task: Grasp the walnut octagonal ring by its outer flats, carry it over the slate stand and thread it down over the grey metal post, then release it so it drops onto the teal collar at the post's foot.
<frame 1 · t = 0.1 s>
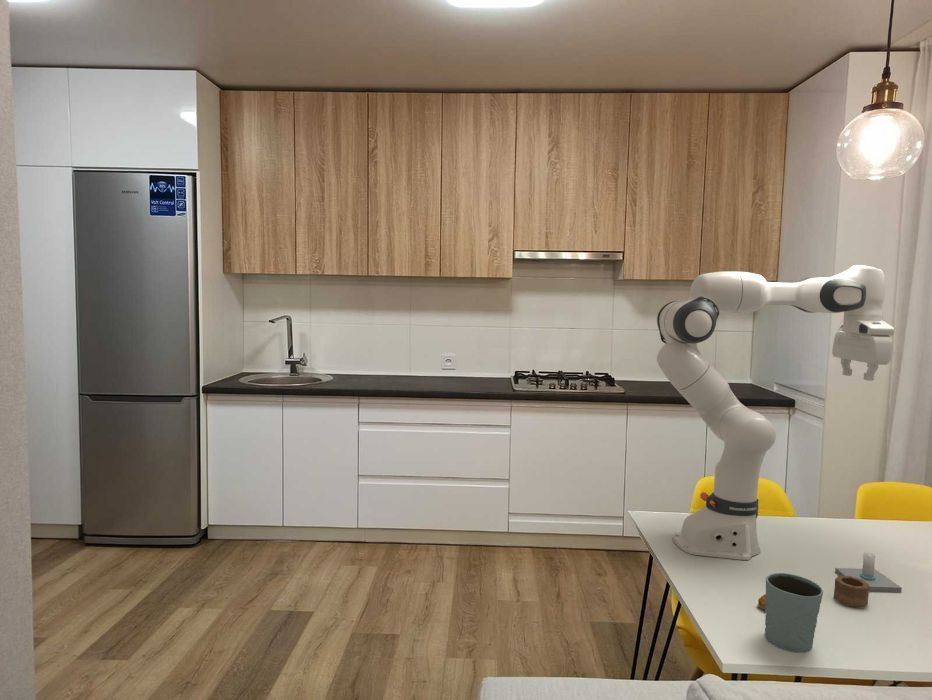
hand: (857, 377, 171), 48 cm above the table, fingers open, 8 cm apart
pastry: (780, 609, 141), on the table
shaft stand: (867, 582, 155), on the table
grey blue cup: (789, 642, 128), on the table
ring: (850, 600, 145), on the table
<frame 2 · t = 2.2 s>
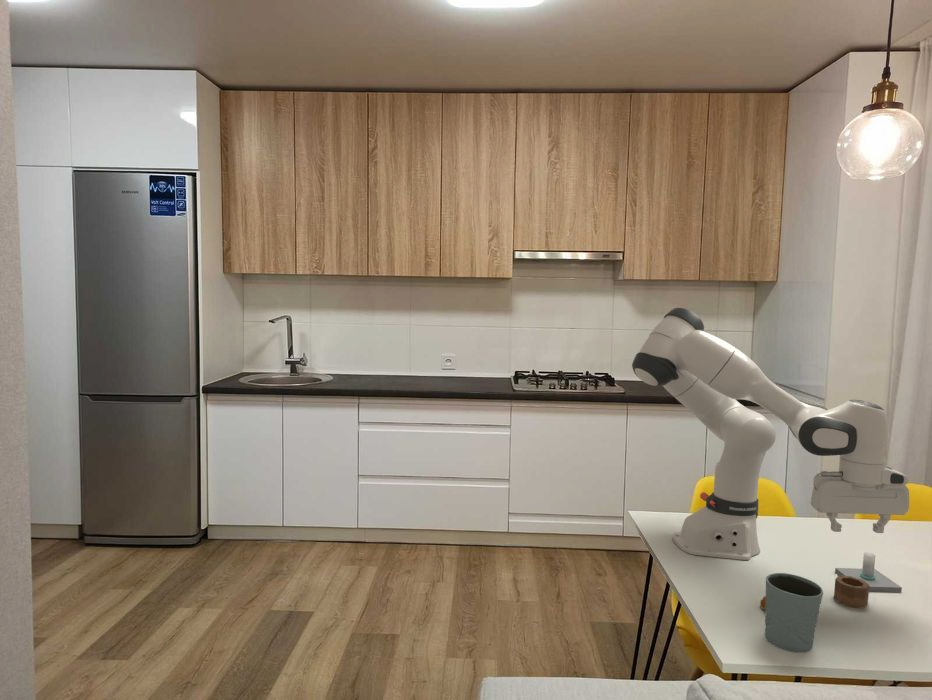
hand: (856, 531, 144), 16 cm above the table, fingers open, 8 cm apart
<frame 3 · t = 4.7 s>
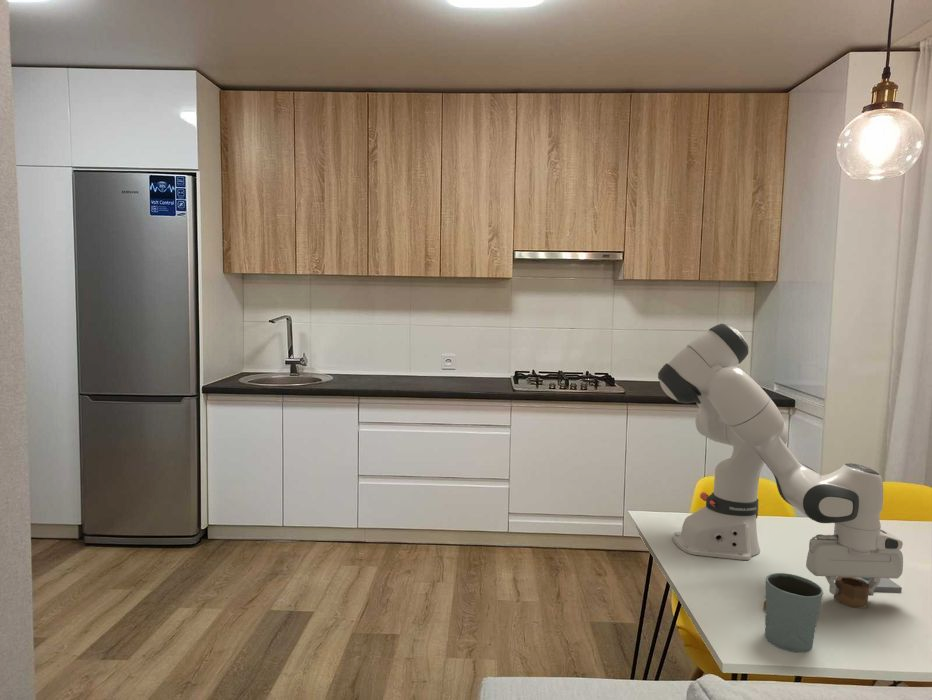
hand: (851, 594, 145), 2 cm above the table, fingers closed on ring, 6 cm apart
ring: (850, 600, 145), on the table, touching gripper
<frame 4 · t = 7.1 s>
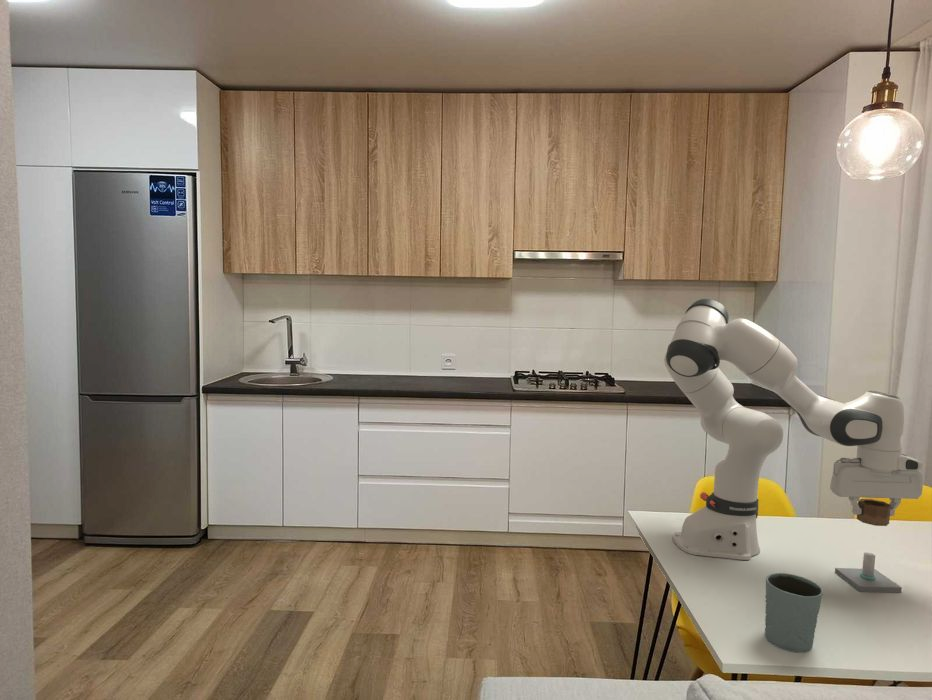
hand: (873, 514, 154), 17 cm above the table, fingers closed on ring, 6 cm apart
ring: (872, 521, 154), point 15 cm above the table, touching gripper
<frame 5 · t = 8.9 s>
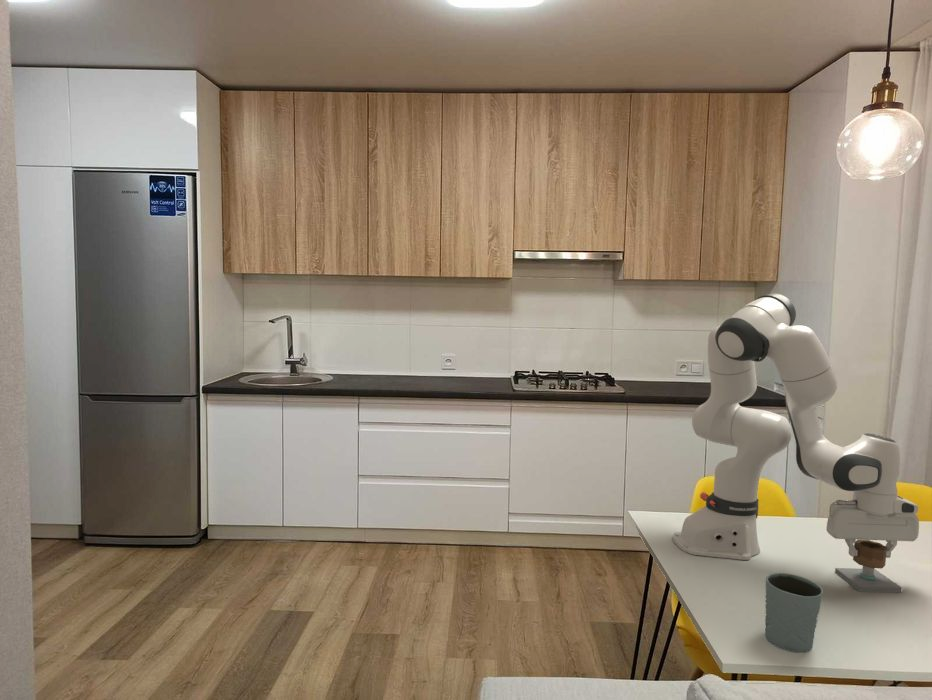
hand: (869, 556, 154), 7 cm above the table, fingers closed on ring, 6 cm apart
ring: (868, 562, 154), point 5 cm above the table, touching gripper
when the fingers open (6 cm above the table, at t = 10.0 s): ring drops 3 cm, resting on shaft stand.
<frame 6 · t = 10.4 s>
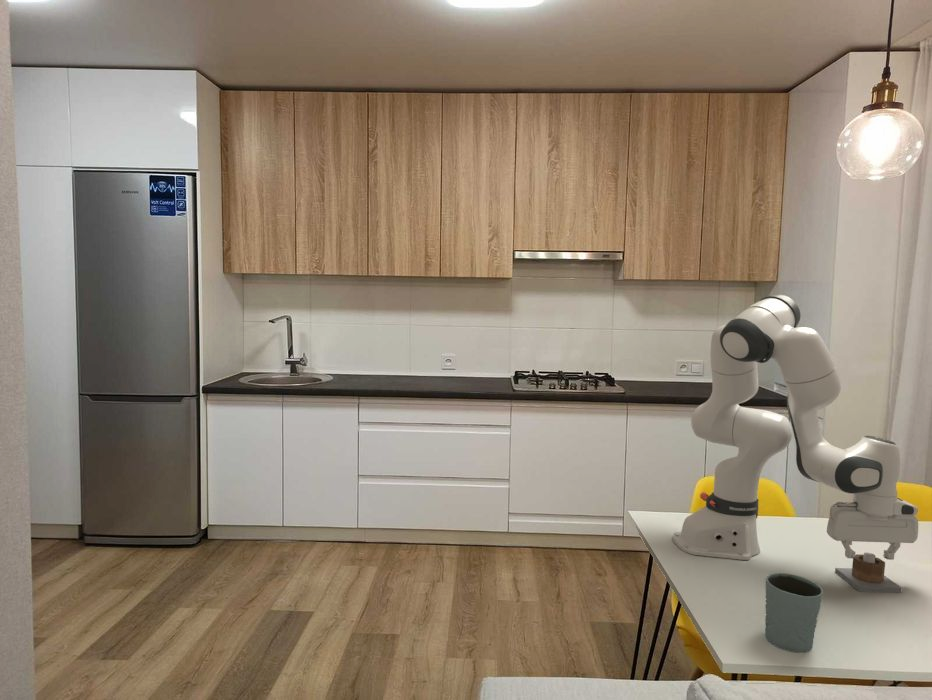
hand: (869, 558, 155), 6 cm above the table, fingers open, 8 cm apart
ring: (867, 577, 155), point 1 cm above the table, touching shaft stand
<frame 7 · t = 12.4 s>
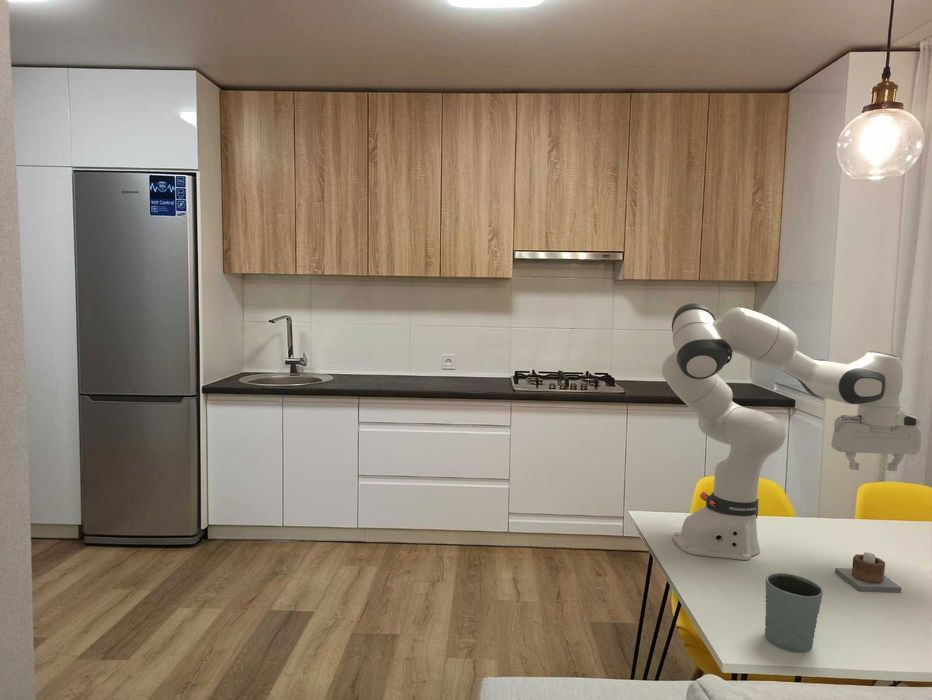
hand: (872, 470, 161), 26 cm above the table, fingers open, 8 cm apart
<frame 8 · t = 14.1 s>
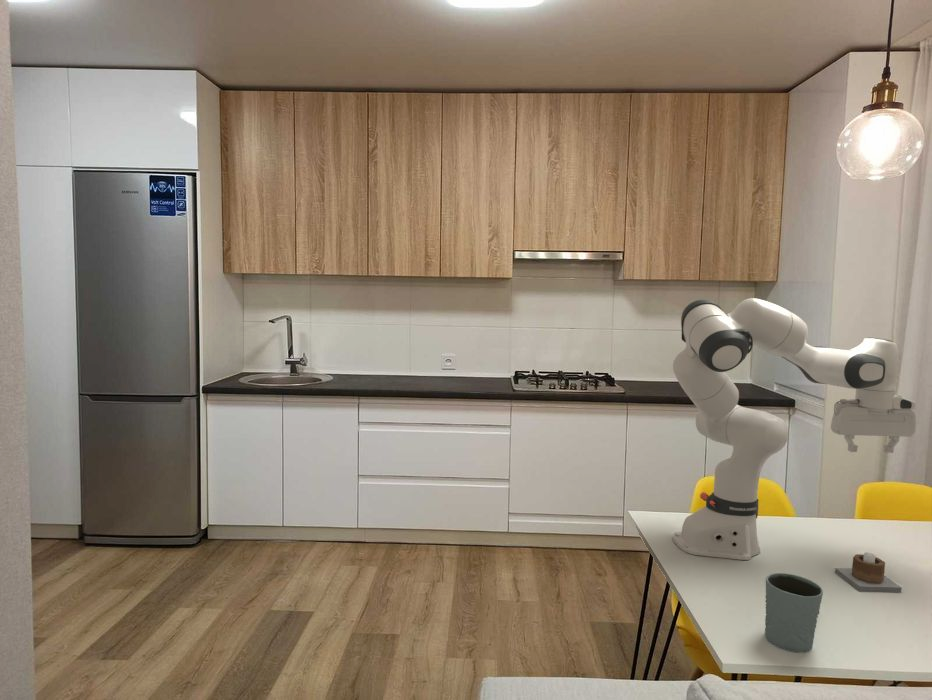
hand: (870, 452, 166), 29 cm above the table, fingers open, 8 cm apart
at the end: ring 0.1 cm from the shaft stand (horizontally); ring point 1.2 cm above the table; the gripper is holding nothing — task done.
